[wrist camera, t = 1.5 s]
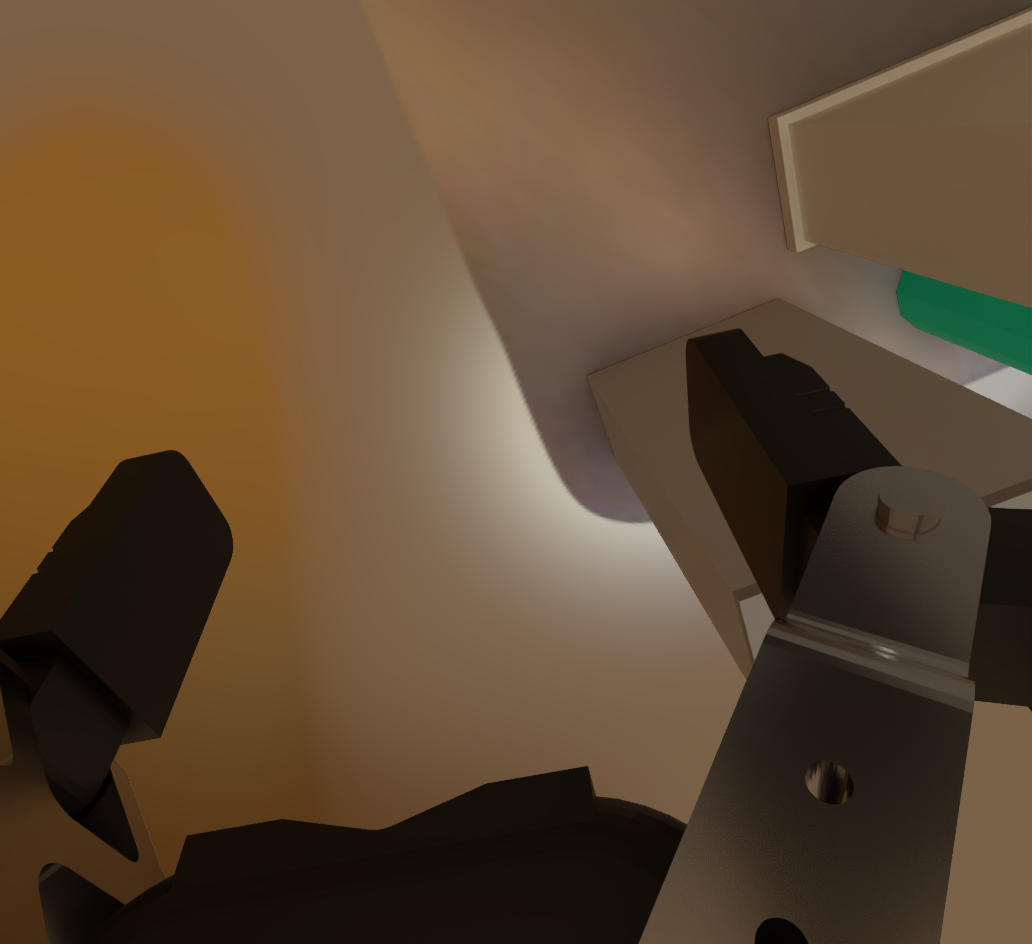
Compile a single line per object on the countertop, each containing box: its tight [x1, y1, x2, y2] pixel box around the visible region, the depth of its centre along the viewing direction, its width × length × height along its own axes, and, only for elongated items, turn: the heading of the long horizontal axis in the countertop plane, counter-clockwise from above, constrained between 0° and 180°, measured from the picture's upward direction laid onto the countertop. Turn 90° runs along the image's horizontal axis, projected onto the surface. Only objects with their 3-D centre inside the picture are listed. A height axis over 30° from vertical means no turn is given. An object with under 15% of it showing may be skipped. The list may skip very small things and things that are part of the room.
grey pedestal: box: [587, 298, 1032, 681], centre depth 31 cm, size 6×12×21 cm, turn 111°
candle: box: [896, 270, 1032, 375], centre depth 34 cm, size 6×6×12 cm
